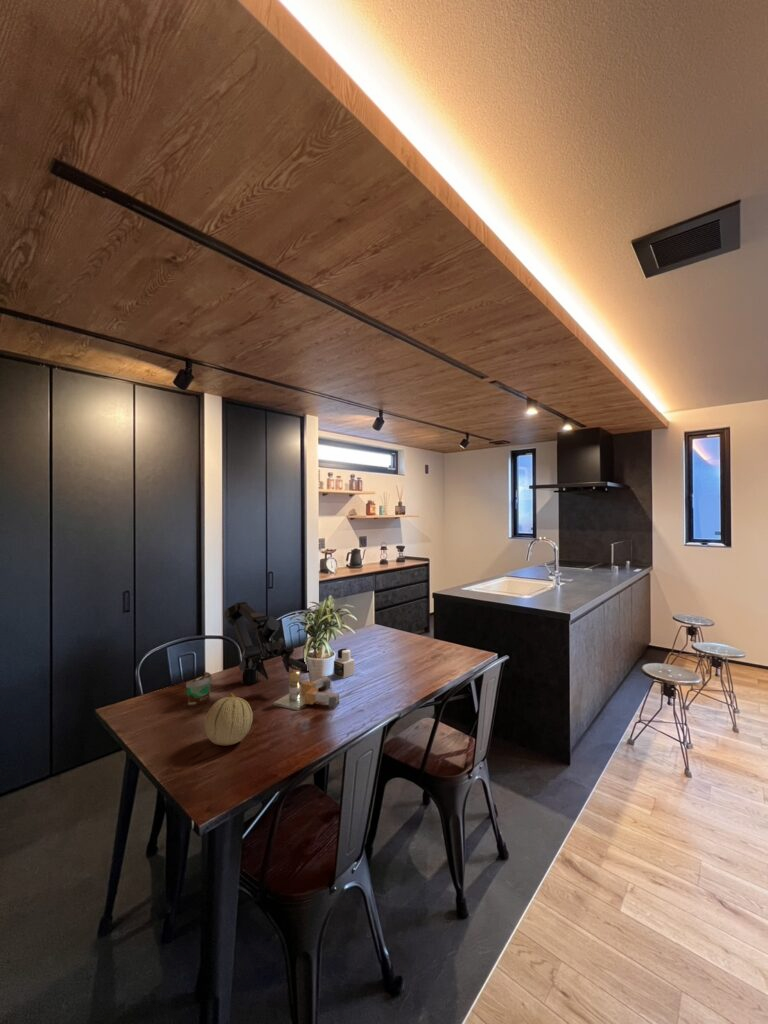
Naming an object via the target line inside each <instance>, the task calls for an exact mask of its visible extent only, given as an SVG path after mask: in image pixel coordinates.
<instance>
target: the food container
mask: <svg viewBox="0 0 768 1024" xmlns="http://www.w3.org/2000/svg"><path fill="white" fill-rule="evenodd" d="M212 681H213V676H212V674H211V673H210V672H207V671H205V672H204V674H202V675H201V676H198V677H196V678H194V679H193V680H192V681H186V684H185V688H186V693H187V705H188V707H197V706H201V705H205V704H207V703H208V702H209V701H210V692H211V691H210V689H211V682H212Z"/></svg>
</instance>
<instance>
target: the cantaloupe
mask: <svg viewBox="0 0 768 1024" xmlns="http://www.w3.org/2000/svg"><path fill="white" fill-rule="evenodd" d="M229 695H230V696H226V697H222V698H220V699H218V700H216V702H214V703H213V705H211V707H210V708H209V709H208V711H207V713H206V716H205V720H204V731H205V734H206V736H207V739H209V741H210V742H212V744H214V745H218V746H224V747H225V746H226V747H227V746H232V745H235V744H237V743H239V742H241V741H242V740H243V739H244V738H245V737H246V736H247V735H248V733H249V731H250V729H251V727H252V723H253V717H254V715H253V710H252V707H251V706H250V704H249V702H248V701H247V700H246V699H244V698H241V697H239V696H235V695H234V693H232V692H231V693H230V694H229Z"/></svg>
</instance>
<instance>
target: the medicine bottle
mask: <svg viewBox="0 0 768 1024" xmlns="http://www.w3.org/2000/svg"><path fill="white" fill-rule="evenodd" d="M334 660H335V661H334ZM334 660H333V676H335V675H336V676H335V677H338V676H339V677H338V678H341V679H346V677H347V678H349V677H352V676H354V675H355V673H356V672H355V659H353V658H351V649H350V648H341V649H338V650H337V659H334ZM353 674H354V675H353ZM351 675H352V676H351ZM348 676H349V677H348Z"/></svg>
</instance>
